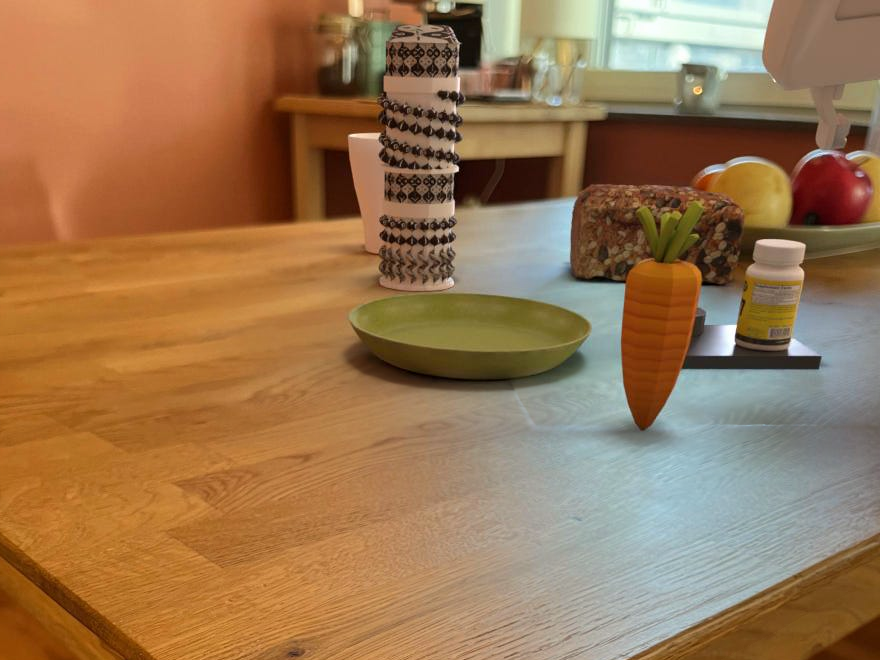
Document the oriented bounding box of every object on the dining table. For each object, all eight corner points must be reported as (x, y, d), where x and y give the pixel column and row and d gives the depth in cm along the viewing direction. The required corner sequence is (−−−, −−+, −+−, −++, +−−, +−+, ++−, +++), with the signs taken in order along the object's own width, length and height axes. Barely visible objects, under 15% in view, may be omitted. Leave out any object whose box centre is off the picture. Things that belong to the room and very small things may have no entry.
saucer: (326, 381, 81) (325, 340, 79) (369, 321, 98) (370, 287, 97) (590, 397, 78) (595, 355, 77) (586, 333, 96) (589, 298, 94)
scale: (766, 335, 97) (772, 303, 95) (818, 370, 86) (827, 334, 85) (627, 335, 96) (631, 302, 94) (663, 369, 85) (669, 333, 84)
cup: (403, 261, 127) (405, 140, 120) (333, 252, 131) (331, 136, 124) (443, 249, 134) (447, 136, 128) (375, 241, 139) (375, 131, 132)
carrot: (593, 429, 72) (619, 198, 64) (633, 414, 75) (663, 193, 67) (653, 446, 69) (688, 207, 61) (692, 430, 72) (731, 201, 64)
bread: (572, 282, 117) (582, 188, 112) (565, 265, 126) (574, 177, 121) (736, 287, 116) (753, 192, 111) (717, 270, 125) (732, 182, 120)
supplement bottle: (741, 335, 91) (759, 236, 87) (795, 343, 89) (816, 241, 85) (726, 347, 88) (745, 243, 83) (782, 355, 86) (804, 249, 81)
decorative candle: (443, 274, 120) (452, 26, 107) (467, 290, 112) (481, 25, 99) (367, 276, 118) (368, 24, 105) (387, 293, 110) (390, 23, 97)
